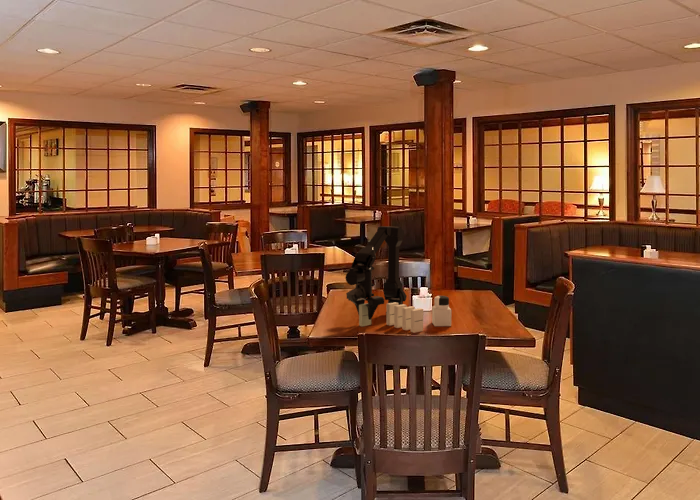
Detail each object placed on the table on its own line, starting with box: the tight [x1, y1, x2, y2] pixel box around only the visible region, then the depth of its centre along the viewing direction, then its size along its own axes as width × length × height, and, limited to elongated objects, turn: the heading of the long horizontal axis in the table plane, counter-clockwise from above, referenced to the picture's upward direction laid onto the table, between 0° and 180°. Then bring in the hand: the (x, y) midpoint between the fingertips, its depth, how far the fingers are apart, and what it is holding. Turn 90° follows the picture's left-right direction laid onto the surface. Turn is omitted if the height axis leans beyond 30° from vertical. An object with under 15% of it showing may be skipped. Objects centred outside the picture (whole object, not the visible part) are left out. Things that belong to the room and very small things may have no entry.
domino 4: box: [410, 307, 424, 334], centre depth 251 cm, size 2×5×9 cm, turn 127°
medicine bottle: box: [431, 295, 452, 327], centre depth 262 cm, size 7×7×12 cm
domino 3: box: [401, 305, 416, 331], centre depth 255 cm, size 2×5×9 cm, turn 127°
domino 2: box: [393, 303, 408, 329], centre depth 259 cm, size 2×5×9 cm, turn 127°
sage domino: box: [358, 302, 372, 327], centre depth 262 cm, size 2×5×9 cm, turn 127°
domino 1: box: [385, 302, 399, 326], centre depth 263 cm, size 2×5×9 cm, turn 127°
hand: (365, 318), depth 262 cm, fingers open, 6 cm apart
